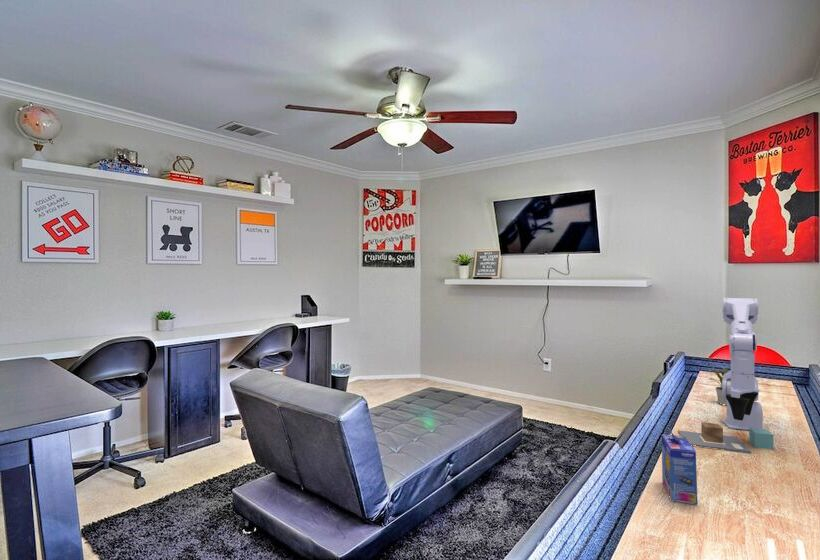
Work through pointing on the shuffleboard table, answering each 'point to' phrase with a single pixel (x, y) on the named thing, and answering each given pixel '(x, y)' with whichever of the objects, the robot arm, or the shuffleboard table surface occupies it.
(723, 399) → the house plant
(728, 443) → the board
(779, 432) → the shuffleboard table surface
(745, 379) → the robot arm
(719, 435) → the walnut block
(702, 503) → the shuffleboard table surface
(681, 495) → the ink cartridge box
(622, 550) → the shuffleboard table surface
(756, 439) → the teal block
